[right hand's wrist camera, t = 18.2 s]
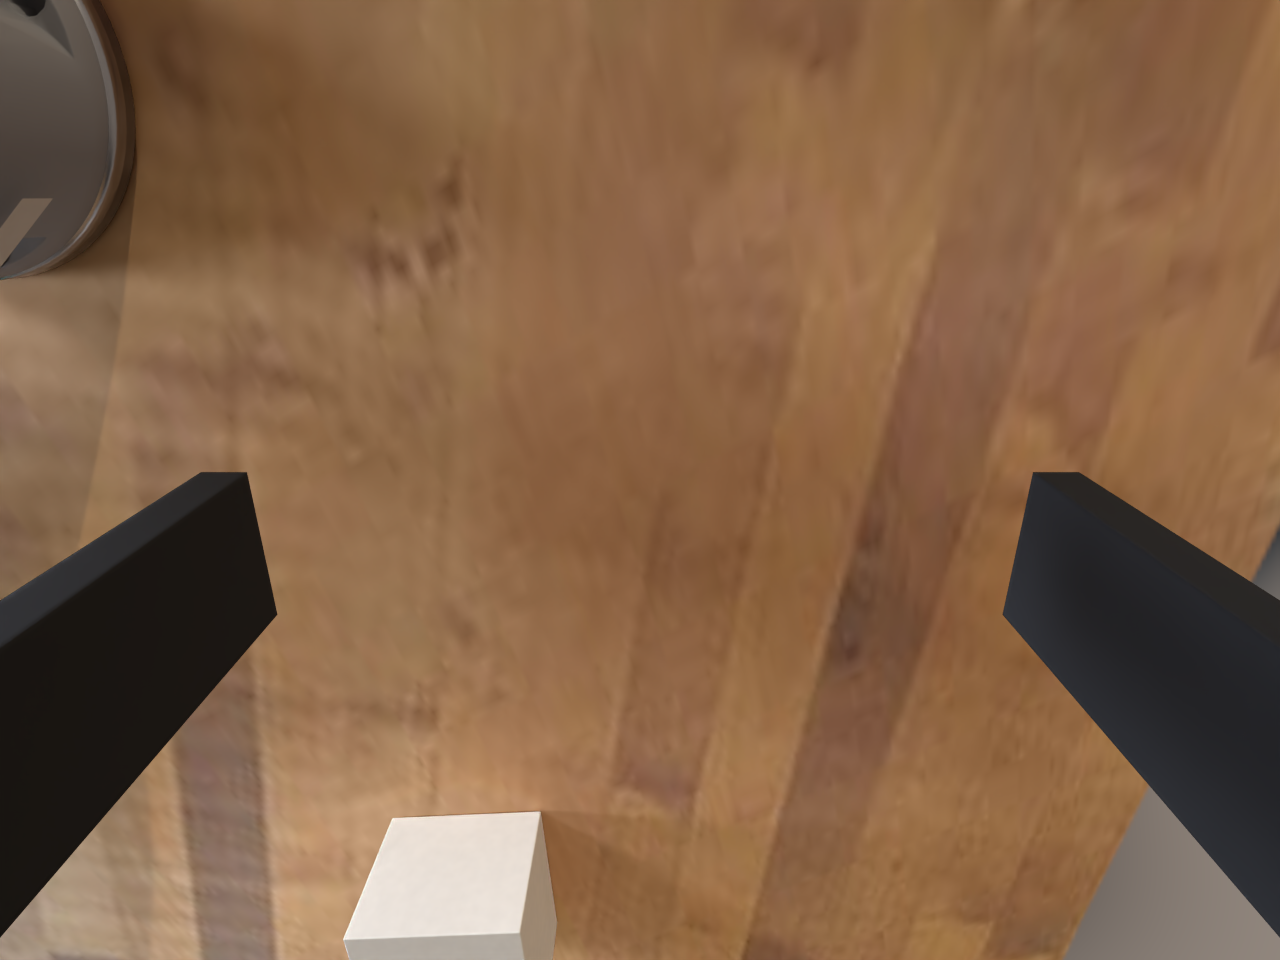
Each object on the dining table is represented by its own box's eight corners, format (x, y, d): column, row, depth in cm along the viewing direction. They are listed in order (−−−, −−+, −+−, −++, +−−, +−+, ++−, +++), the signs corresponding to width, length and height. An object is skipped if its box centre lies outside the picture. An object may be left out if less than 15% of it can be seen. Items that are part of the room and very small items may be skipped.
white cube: (557, 922, 46) (541, 1053, 39) (419, 927, 46) (378, 1059, 39) (540, 810, 42) (520, 932, 35) (392, 817, 43) (342, 939, 36)
